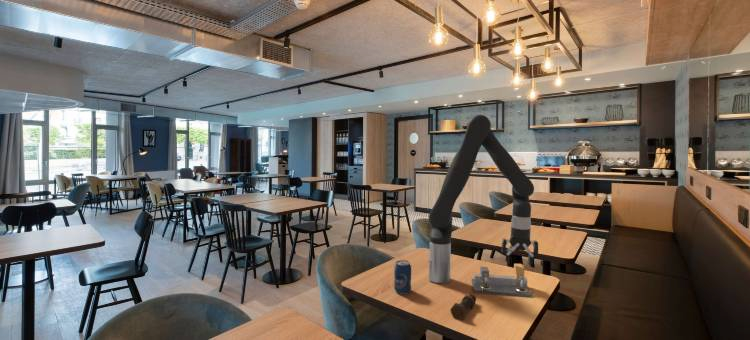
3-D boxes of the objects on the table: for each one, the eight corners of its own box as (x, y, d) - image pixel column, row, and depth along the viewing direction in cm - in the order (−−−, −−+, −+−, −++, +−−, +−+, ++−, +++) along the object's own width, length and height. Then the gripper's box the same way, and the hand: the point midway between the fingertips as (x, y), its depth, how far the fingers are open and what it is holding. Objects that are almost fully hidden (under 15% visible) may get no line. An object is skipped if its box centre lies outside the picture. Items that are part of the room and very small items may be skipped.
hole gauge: (474, 292, 138) (474, 275, 138) (471, 280, 150) (472, 265, 150) (531, 297, 134) (532, 280, 134) (524, 284, 146) (524, 268, 146)
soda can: (391, 293, 138) (392, 264, 137) (397, 286, 144) (397, 258, 143) (408, 295, 135) (408, 266, 134) (413, 289, 142) (413, 261, 141)
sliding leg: (517, 287, 139) (518, 270, 138) (513, 279, 146) (514, 263, 146) (525, 288, 138) (526, 270, 137) (521, 280, 146) (521, 263, 145)
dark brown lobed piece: (474, 308, 129) (459, 323, 117) (463, 298, 132) (447, 313, 120) (482, 297, 127) (468, 311, 115) (471, 287, 130) (456, 301, 118)
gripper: (504, 227, 139) (502, 265, 141) (541, 229, 137) (539, 268, 138) (501, 223, 147) (499, 259, 148) (536, 225, 144) (534, 262, 146)
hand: (518, 264), depth 143 cm, fingers open, 8 cm apart
